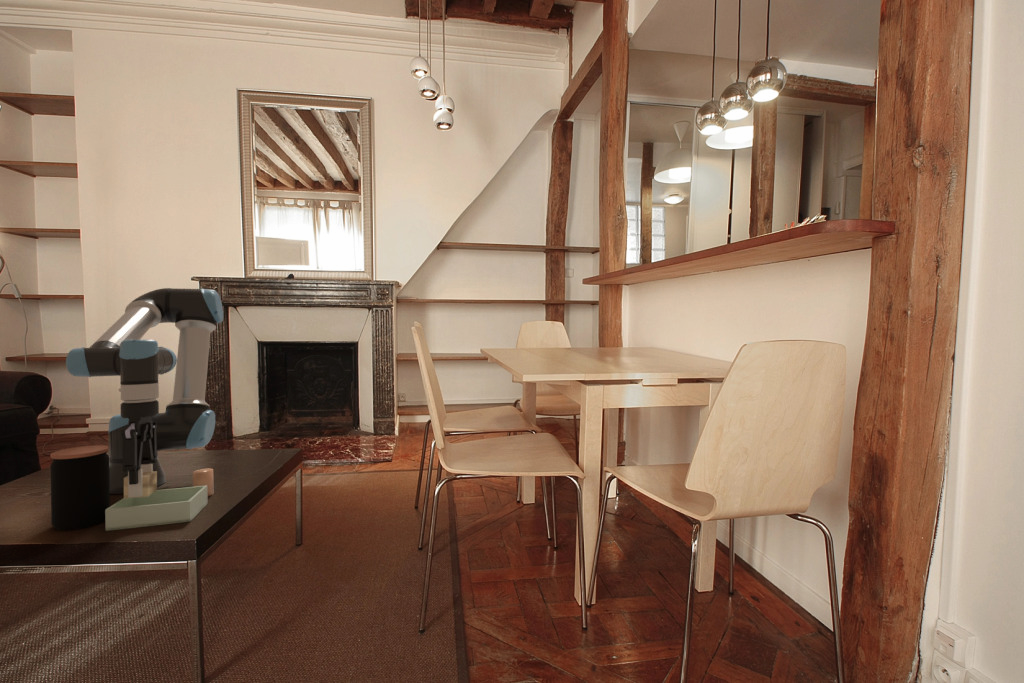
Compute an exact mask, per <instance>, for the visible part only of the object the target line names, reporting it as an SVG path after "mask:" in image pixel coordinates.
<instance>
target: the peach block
mask: <svg viewBox="0 0 1024 683" xmlns="http://www.w3.org/2000/svg"><path fill="white" fill-rule="evenodd" d="M196 486H207V492H208V497H210V496H212V495H214V492H215V491H214V469H213V468H212V467H211V468H207V467H206V468H201V469H197V470H194V471H192V487H196Z"/></svg>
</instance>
